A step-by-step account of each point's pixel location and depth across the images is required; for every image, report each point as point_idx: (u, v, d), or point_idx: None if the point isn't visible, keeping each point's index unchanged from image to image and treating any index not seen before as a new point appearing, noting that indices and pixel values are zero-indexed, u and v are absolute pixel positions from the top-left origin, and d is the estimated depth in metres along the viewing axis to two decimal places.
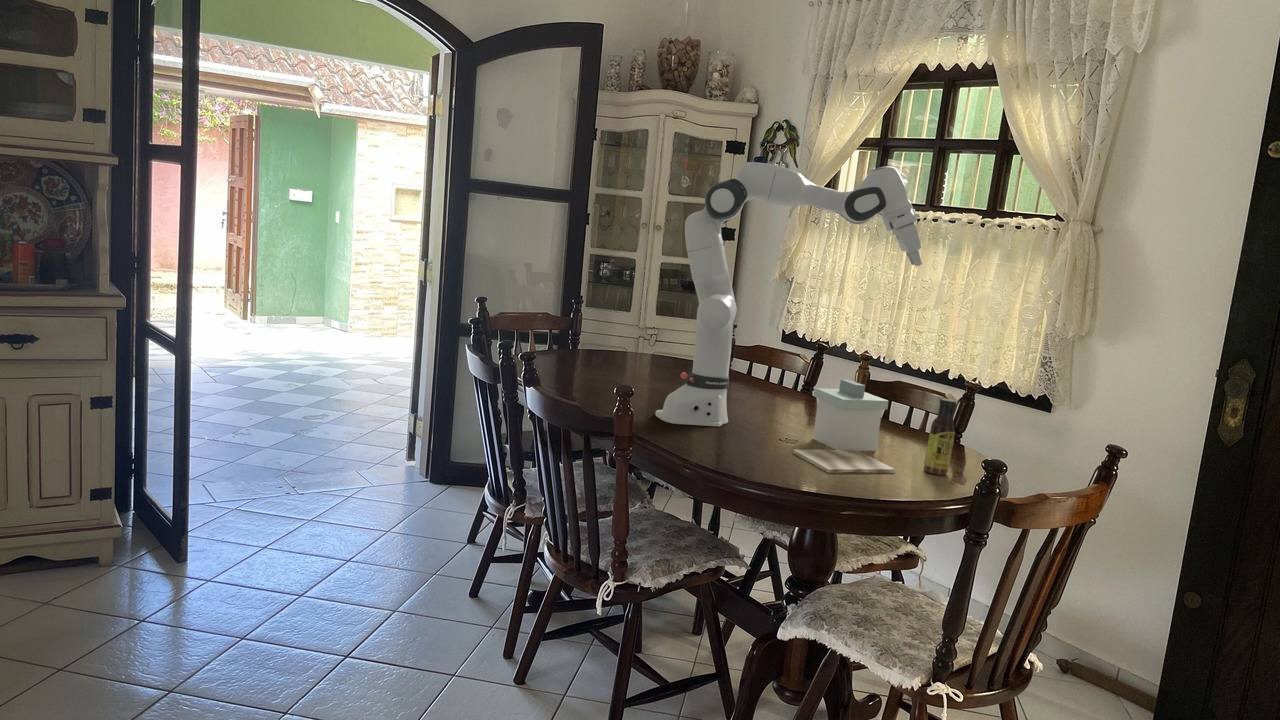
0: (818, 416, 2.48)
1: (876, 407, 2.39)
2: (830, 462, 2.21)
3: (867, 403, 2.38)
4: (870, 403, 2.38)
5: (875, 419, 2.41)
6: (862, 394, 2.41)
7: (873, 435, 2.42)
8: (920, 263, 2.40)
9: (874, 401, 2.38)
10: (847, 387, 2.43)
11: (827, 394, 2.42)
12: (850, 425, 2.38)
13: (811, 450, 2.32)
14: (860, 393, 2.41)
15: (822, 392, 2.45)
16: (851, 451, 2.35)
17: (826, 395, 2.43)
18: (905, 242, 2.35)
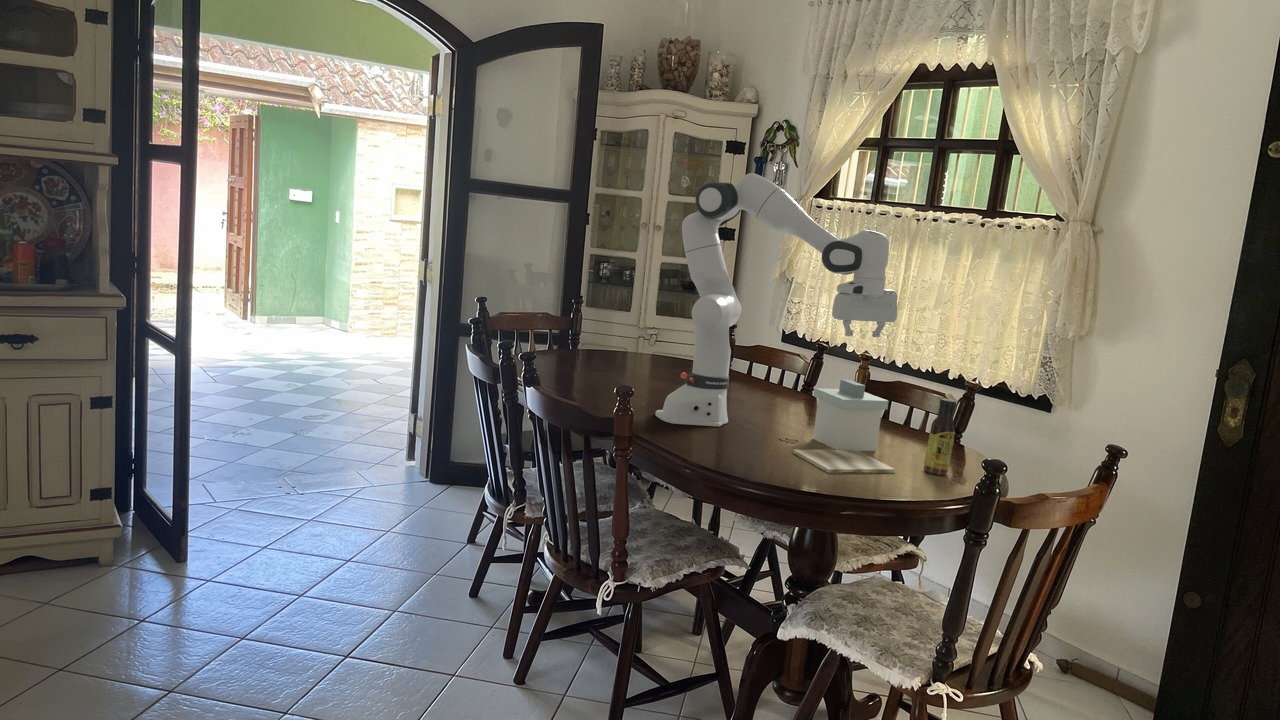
0: (818, 416, 2.48)
1: (876, 407, 2.39)
2: (830, 462, 2.21)
3: (867, 403, 2.38)
4: (870, 403, 2.38)
5: (875, 419, 2.41)
6: (862, 394, 2.41)
7: (873, 435, 2.42)
8: (847, 334, 2.39)
9: (874, 401, 2.38)
10: (847, 387, 2.43)
11: (827, 394, 2.42)
12: (850, 425, 2.38)
13: (811, 450, 2.32)
14: (860, 393, 2.41)
15: (822, 392, 2.45)
16: (851, 451, 2.35)
17: (826, 395, 2.43)
18: (833, 307, 2.39)
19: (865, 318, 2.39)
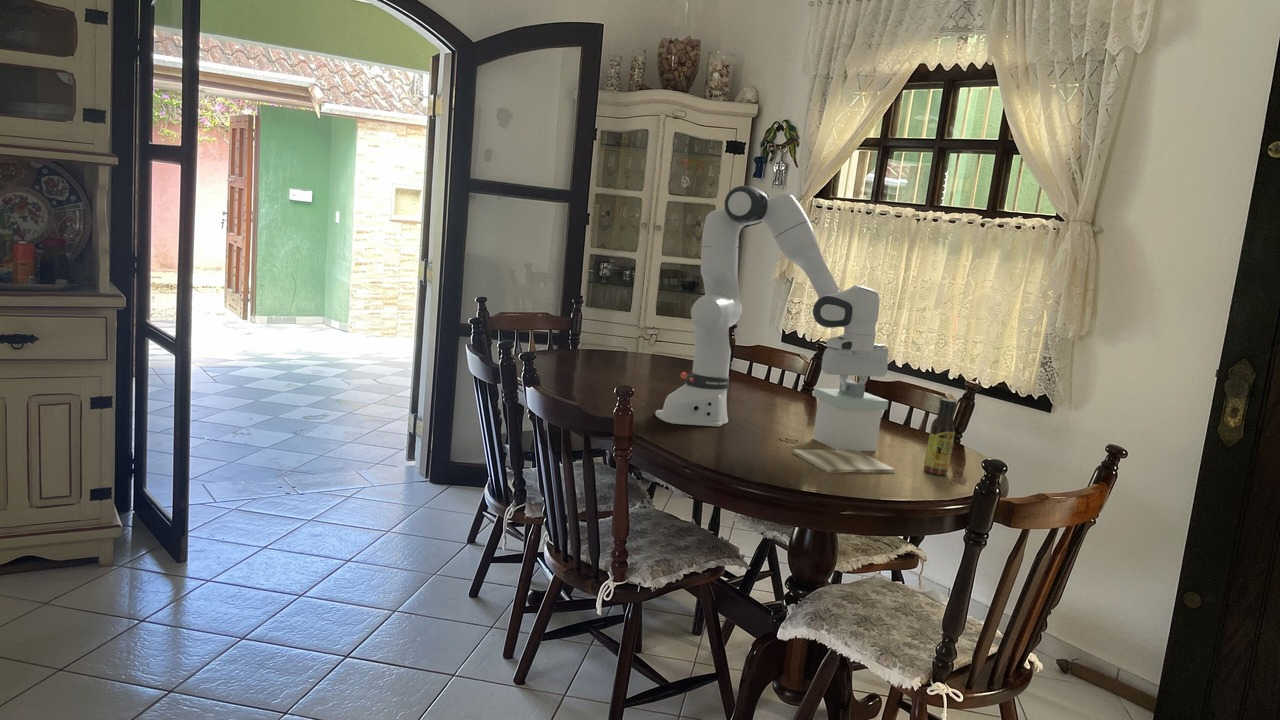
0: (818, 416, 2.48)
1: (876, 407, 2.39)
2: (830, 462, 2.21)
3: (867, 403, 2.38)
4: (870, 403, 2.38)
5: (875, 419, 2.41)
6: (862, 394, 2.41)
7: (873, 435, 2.42)
8: (844, 389, 2.43)
9: (874, 401, 2.38)
10: None
11: (827, 394, 2.42)
12: (850, 425, 2.38)
13: (811, 450, 2.32)
14: (860, 393, 2.41)
15: (822, 392, 2.45)
16: (851, 451, 2.35)
17: (826, 395, 2.43)
18: (822, 361, 2.41)
19: (854, 373, 2.41)
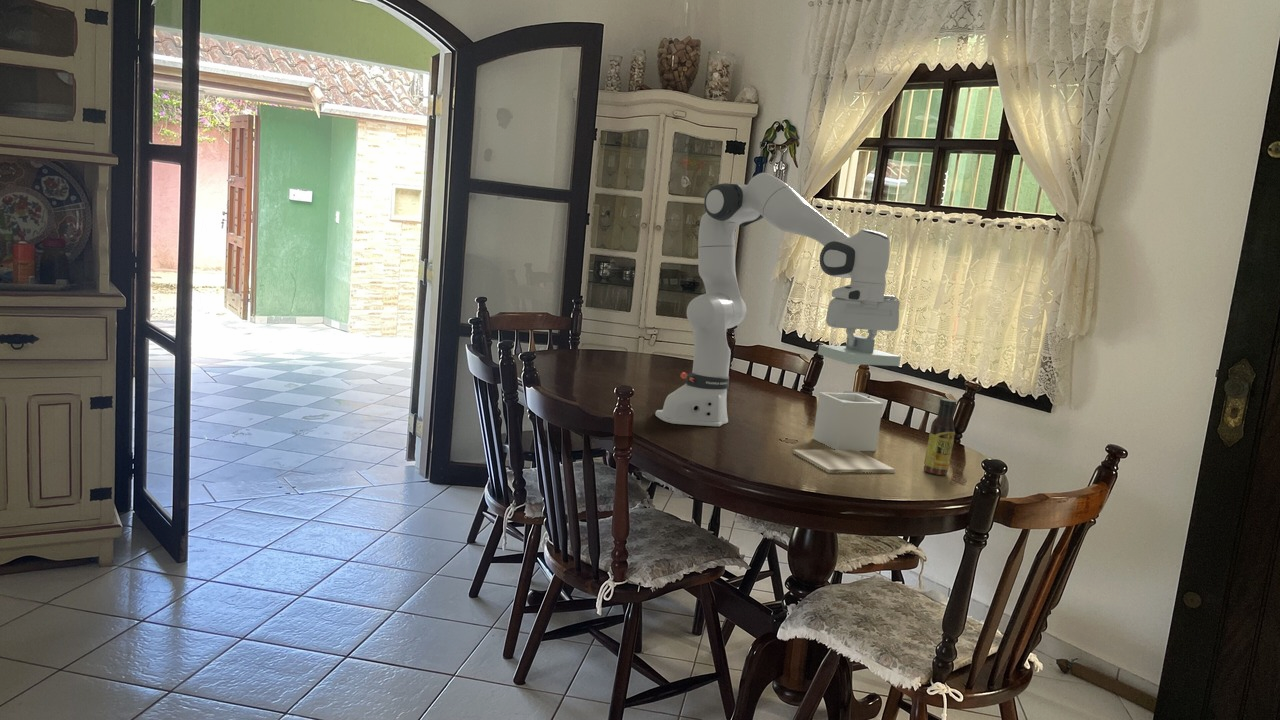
0: (818, 416, 2.48)
1: (887, 363, 2.16)
2: (830, 462, 2.21)
3: (877, 359, 2.15)
4: (880, 359, 2.15)
5: (875, 419, 2.41)
6: (871, 349, 2.18)
7: (873, 435, 2.42)
8: (851, 344, 2.20)
9: (885, 356, 2.16)
10: None
11: (833, 350, 2.20)
12: (850, 425, 2.38)
13: (811, 450, 2.32)
14: (869, 349, 2.18)
15: (827, 348, 2.22)
16: (851, 451, 2.35)
17: (832, 351, 2.20)
18: (827, 313, 2.18)
19: (863, 326, 2.19)
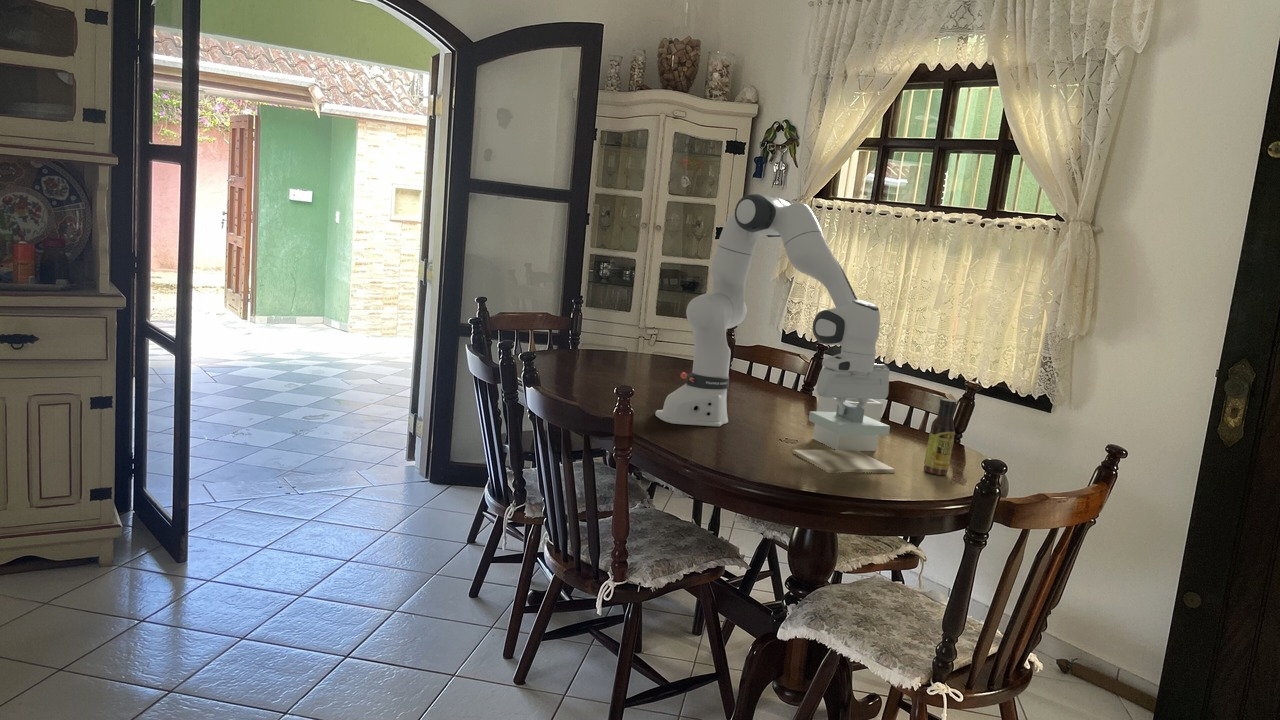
0: None
1: (876, 433, 2.19)
2: (830, 462, 2.21)
3: (867, 429, 2.17)
4: (870, 429, 2.18)
5: (875, 419, 2.41)
6: (861, 419, 2.20)
7: (873, 435, 2.42)
8: (841, 413, 2.22)
9: (874, 427, 2.18)
10: None
11: (823, 418, 2.22)
12: None
13: (811, 450, 2.32)
14: (859, 418, 2.20)
15: (817, 416, 2.24)
16: (851, 451, 2.35)
17: (822, 419, 2.22)
18: (817, 383, 2.21)
19: (853, 395, 2.21)
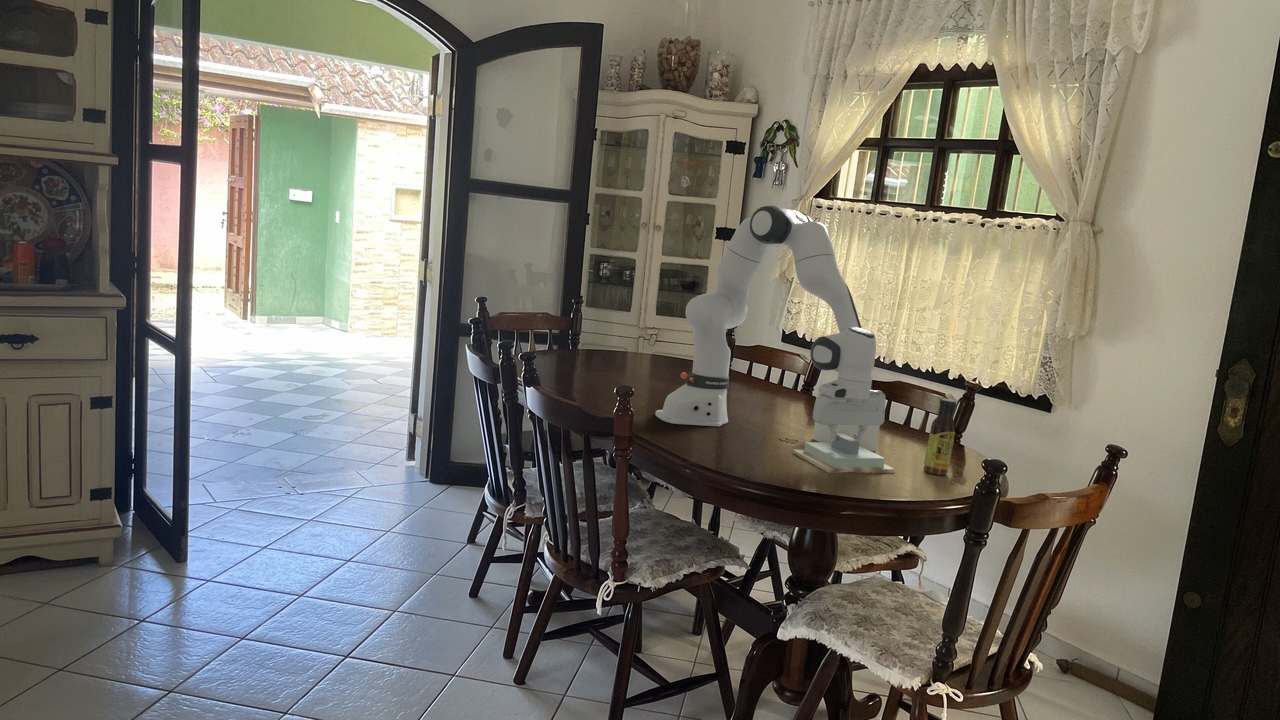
0: None
1: (871, 465, 2.20)
2: None
3: (862, 461, 2.19)
4: (865, 461, 2.19)
5: None
6: (856, 451, 2.22)
7: (873, 435, 2.42)
8: (833, 439, 2.23)
9: (869, 459, 2.19)
10: (840, 442, 2.24)
11: (818, 450, 2.23)
12: (850, 425, 2.38)
13: None
14: (854, 450, 2.22)
15: (813, 447, 2.26)
16: None
17: (817, 451, 2.24)
18: (814, 409, 2.22)
19: (849, 422, 2.22)
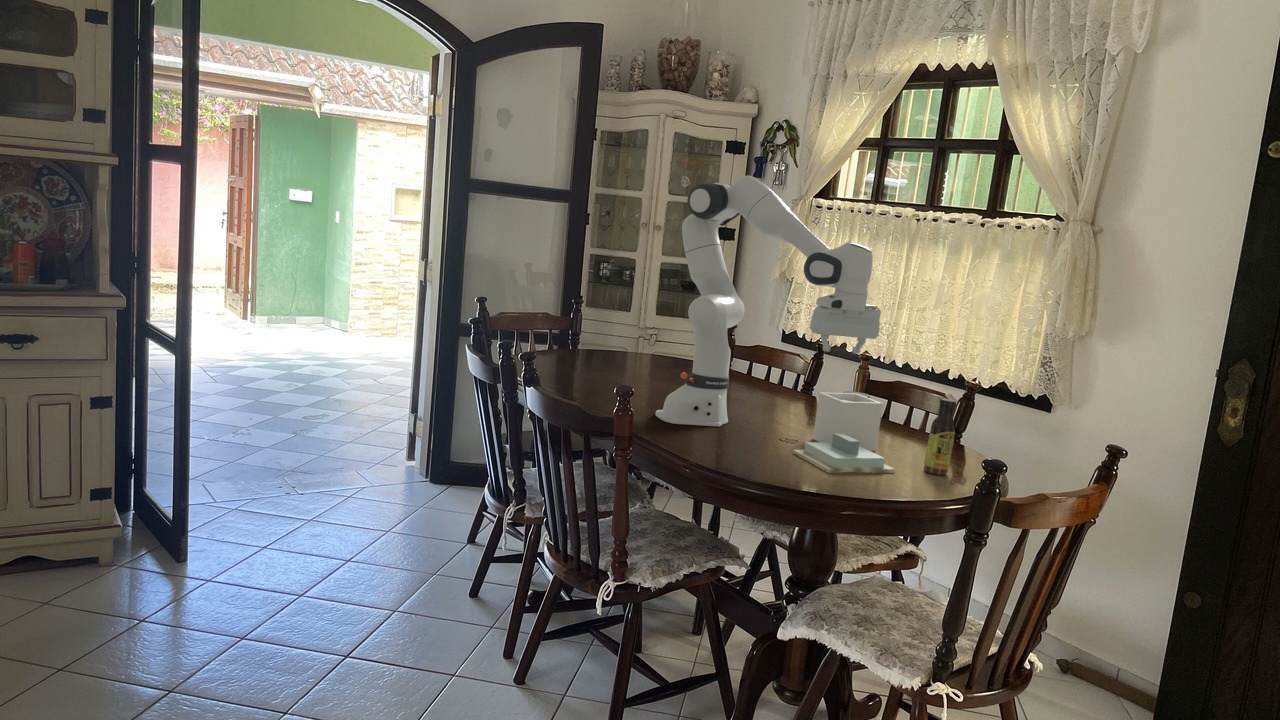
0: (818, 416, 2.48)
1: (871, 465, 2.20)
2: None
3: (862, 461, 2.19)
4: (865, 461, 2.19)
5: (875, 419, 2.41)
6: (856, 451, 2.22)
7: (873, 435, 2.42)
8: (825, 349, 2.33)
9: (869, 459, 2.19)
10: (840, 442, 2.24)
11: (818, 450, 2.23)
12: (850, 425, 2.38)
13: None
14: (854, 450, 2.22)
15: (813, 447, 2.26)
16: None
17: (817, 451, 2.24)
18: (811, 320, 2.32)
19: (844, 333, 2.32)
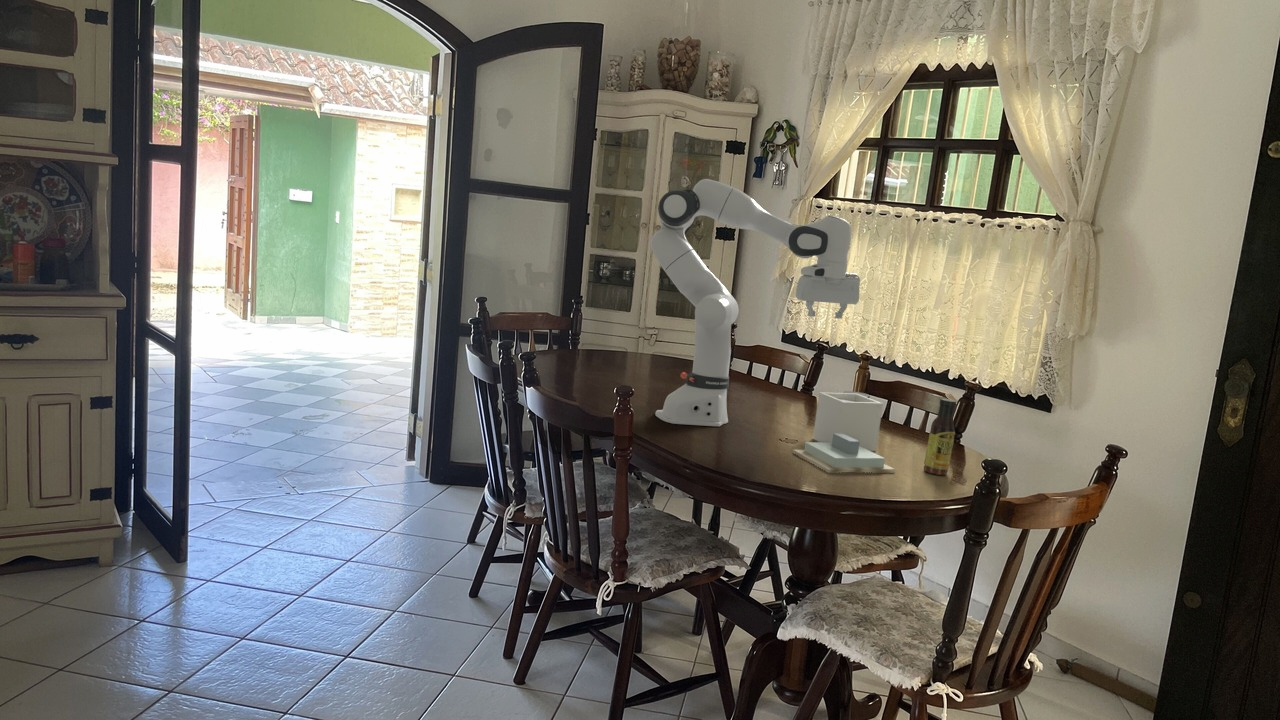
0: (818, 416, 2.48)
1: (871, 465, 2.20)
2: None
3: (862, 461, 2.19)
4: (865, 461, 2.19)
5: (875, 419, 2.41)
6: (856, 451, 2.22)
7: (873, 435, 2.42)
8: (810, 315, 2.53)
9: (869, 459, 2.19)
10: (840, 442, 2.24)
11: (818, 450, 2.23)
12: (850, 425, 2.38)
13: None
14: (854, 450, 2.22)
15: (813, 447, 2.26)
16: None
17: (817, 451, 2.24)
18: None
19: (827, 300, 2.52)
